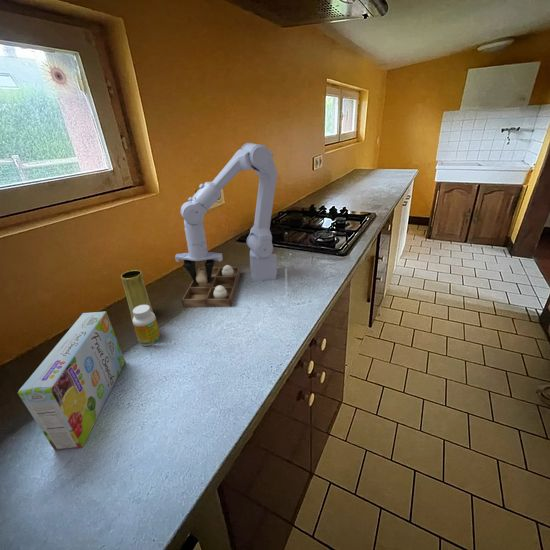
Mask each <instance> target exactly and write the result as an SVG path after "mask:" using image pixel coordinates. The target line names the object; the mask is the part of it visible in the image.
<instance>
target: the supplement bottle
mask: <svg viewBox="0 0 550 550" xmlns="http://www.w3.org/2000/svg"><path fill="white" fill-rule="evenodd" d="M133 315H134V318H133V321H132V325H133V329H134V332H135V334H136V335H135V336H136V339H137V341H138V344H139V345H140V346H144V347H150V346H152V345H155V344H156V342H157V341H158V339H160V337H161V332H160V330H159V326H158V325H159V324H158V322H157V321H158V320H157V316H156V315H155V313H154V311H153V312H151V310H150V307H149V306H148V305H139V306H137V307H135V308H134V309H133Z"/></svg>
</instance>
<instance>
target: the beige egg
mask: <svg viewBox="0 0 550 550" xmlns="http://www.w3.org/2000/svg"><path fill="white" fill-rule="evenodd" d="M197 271H198V270H197ZM197 271H196V273H197V275H196V281H197V283H199V285H200V286H205V285H207V282H208V280H207V273H206V272H205V271H203V270H200V271H198V272H197Z"/></svg>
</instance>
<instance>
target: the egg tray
mask: <svg viewBox="0 0 550 550" xmlns="http://www.w3.org/2000/svg"><path fill="white" fill-rule="evenodd" d="M223 267H224V266H217V267H216V266H215V267H214V266H213V269H212V275H211V281H210V282H207V285H205V286H200V285H199V283H197V281H196V282H194V281H193V279H192V280H191V283H190V284H189V286H188V287H187V290H186V291H185V292H184V295H183V296H182V298H181V304H182V308H232V305H233V303H234V302H233V301H234V298H235V294H236V292H237V287H238V284H239V281H240V276H241V273H242V272H241V267H240V266H231V267H232V269H233V270H234V275H233V276H223V275H222V270H223ZM200 270H203V271H205V272H206V268H205V266H203V267H201V266H200V267H199V268H198V269H197V270H196V274H197V272H198V271H200ZM206 273H207V272H206ZM218 285H221V286H223V287H224V288H225V289H226V291H227V296H226V298H225V299H215V297H214V295H213V292H214V290H215V288H216V287H217V286H218Z"/></svg>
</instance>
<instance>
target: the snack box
mask: <svg viewBox="0 0 550 550" xmlns="http://www.w3.org/2000/svg"><path fill="white" fill-rule="evenodd" d="M110 320H111V319H110V318H109V314H108V313H107V311H106V310H105V311H95V312H94V311H93V312H82V313H81V315H80V316H79V318H77V320H76V321H74V323H73V325H72V326H71V327H70V328H69V330H68V331H67V332H66V333H65V334H64V335H63V336H62V338H60V340H59V341H58V343H56V345H55V346H54V347H53V349H52V350H51V351H50V352H49V353H48V355H47V356H46V357H45V358H44V359H43V360H42V362H41V363H40V364H39V366H38V367H37V368H36V369H35V370H34V372H33V373H32V374H31V375H30V376H29V378H28V379H27V380H26V381H25V382H24V383H23V384H22V386H21V387H20V388H19V389H18V392H17V395H18V396H19V397H20V400H21V401H22V402H23V404H24V405H25V406H26V407H25V408H27V411H29V413H30V414H31V416H32V418H33V419H34V421H35V422H36V424H37V425H38V427H39V429H40V431H42V433H43V435H44V437H45V438H46V439H47V441H48V443H49V444H50V446H51V447H52V449H53V450H54V451H58V450H67V449H77V448H78V449H79V448H83V447H85V445H86V442H87V440H88V437H89V435H90V433H91V431H92V429H93V428H94V425H95V423H96V421H97V420H98V418H99V416H100V413H101V412H102V409H103V408H104V405H105V404H106V402H107V400H108V397H109V395H110V393H111V392H112V389H113V387H114V385H116V381H117V380H118V377H119V375H120V374H121V372H122V369H123V368H124V366H125V363H126V360H125V358H124V355H123V352H122V350H121V348H120V345H119V342H118V339H117V336H116V334H115V332H114V328H113V326H112V323H111V321H110Z"/></svg>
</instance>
